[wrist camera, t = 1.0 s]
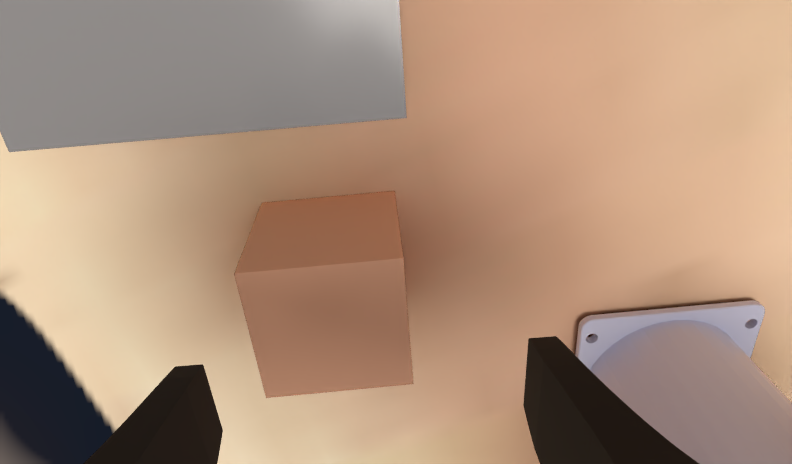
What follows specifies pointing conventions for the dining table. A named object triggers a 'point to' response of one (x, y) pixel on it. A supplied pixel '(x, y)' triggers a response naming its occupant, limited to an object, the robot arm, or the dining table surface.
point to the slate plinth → (193, 68)
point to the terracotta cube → (327, 294)
